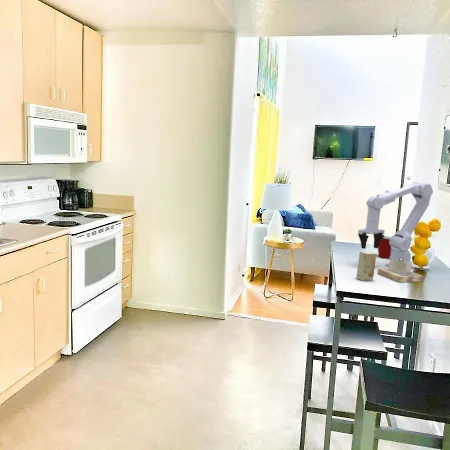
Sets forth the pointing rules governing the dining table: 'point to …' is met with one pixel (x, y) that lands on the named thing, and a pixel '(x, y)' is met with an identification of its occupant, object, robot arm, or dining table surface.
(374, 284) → the dining table surface
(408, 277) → the stand
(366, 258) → the skincare box
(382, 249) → the plastic cup
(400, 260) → the housing
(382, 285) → the dining table surface
